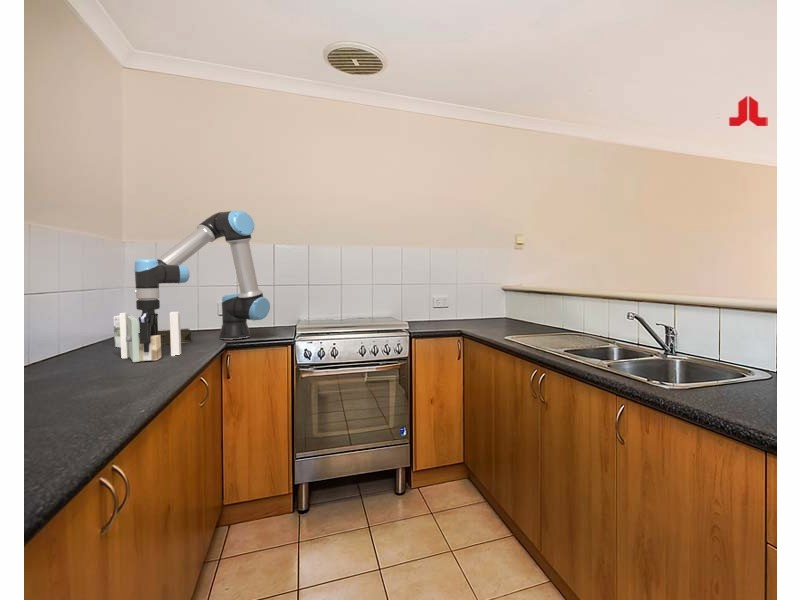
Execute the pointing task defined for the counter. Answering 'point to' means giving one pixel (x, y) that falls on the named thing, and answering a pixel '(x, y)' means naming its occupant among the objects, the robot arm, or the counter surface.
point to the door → (133, 339)
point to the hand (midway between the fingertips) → (150, 358)
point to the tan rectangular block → (156, 348)
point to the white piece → (174, 334)
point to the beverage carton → (166, 336)
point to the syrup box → (117, 330)
